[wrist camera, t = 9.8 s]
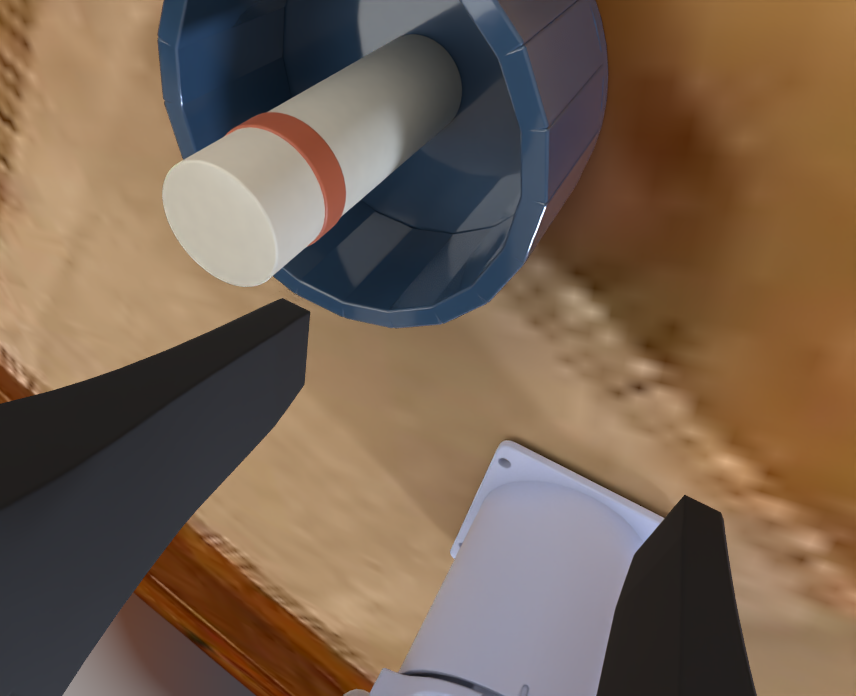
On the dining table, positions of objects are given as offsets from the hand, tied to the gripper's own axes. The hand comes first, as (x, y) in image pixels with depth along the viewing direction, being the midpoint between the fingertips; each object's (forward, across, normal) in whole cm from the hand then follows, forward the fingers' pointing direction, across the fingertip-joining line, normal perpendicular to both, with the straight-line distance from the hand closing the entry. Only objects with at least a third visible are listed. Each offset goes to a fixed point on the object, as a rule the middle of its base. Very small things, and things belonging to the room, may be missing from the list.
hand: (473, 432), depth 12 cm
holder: (+10, +6, -1) cm, 11 cm away
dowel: (+9, +6, -2) cm, 11 cm away
